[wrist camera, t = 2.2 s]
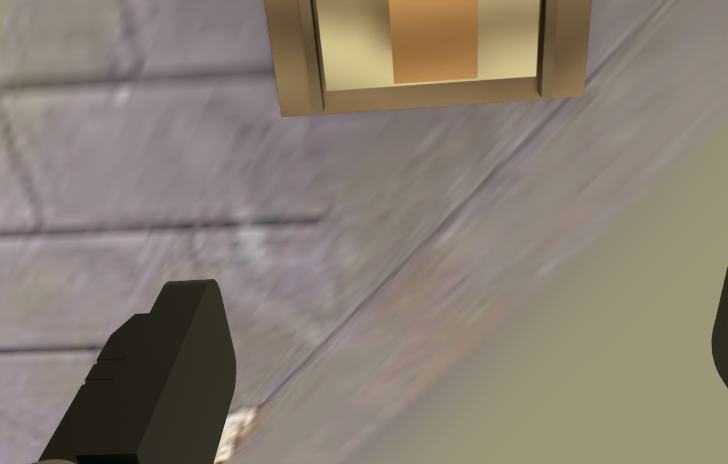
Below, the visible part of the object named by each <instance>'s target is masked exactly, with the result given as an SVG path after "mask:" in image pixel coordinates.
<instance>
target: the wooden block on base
mask: <svg viewBox="0 0 728 464" xmlns="http://www.w3.org/2000/svg"><path fill="white" fill-rule="evenodd" d="M316 4H317V12H318V21H319V30H320V39H321V47H322V56H323V65H324V74H325V82H326V91H335V90H349V89H363V88H378V87H392V86H406V85H420V84H434V83H448V82H463V81H477V80H491V79H505V78H519V77H533V76H536V67H537V46H538V26H539V5H540V0H316Z"/></svg>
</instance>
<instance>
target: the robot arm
mask: <svg viewBox="0 0 728 464" xmlns="http://www.w3.org/2000/svg"><path fill="white" fill-rule="evenodd" d="M712 354H713V359H714V363H715V366H716V369H717V371H718V373H719V375H720V377H721V378H722V380H723V382H724V383H725V385H726V386H727V388H728V268H727V272H726V276H725V280H724V285H723V289H722V293H721V298H720V302H719V306H718V311H717V315H716V320H715V324H714V328H713V334H712ZM235 383H236V359H235V352H234V348H233V343H232V339H231V335H230V330H229V326H228V322H227V318H226V313H225V309H224V305H223V300H222V296H221V292H220V288H219V286H218V284H217V282H216V281H215V280H214V279H207V280H187V281H169V282H167V283H166V284H165V285H164V286H163V288H162V290H161V292H160V294H159V296H158V298H157V300H156V302H155V303H154V305H153V307H152V309H151V311H150V313H144V314H135V315H133V316H132V317H131V318H130V319H129V320H128V321H127V322H125V323H124V324H123V325H122V326H121V327H120V328H118V329H117V330H116V331H115V332H114V333H113V334H112V335H111V336H110V337H109V339H108V341H107V342H106V344H105V346H104V348H103V349H102V351H101V353H100V355H99V356H98V358H97V364H94V365H93V367H92V368H91V370H90V372H89V374H88V375H87V377H86V379H85V385H82V386H81V387H80V389H79V391H78V393H77V394H76V396H75V398H74V400H73V401H72V403H71V405H70V407H69V408H68V410H67V412H66V413H65V415H64V417H63V419H62V420H61V422H60V424H59V426H58V427H57V429H56V431H55V433H54V434H53V436H52V438H51V439H50V441H49V443H48V445H47V446H46V448H45V450H44V452H43V453H42V455H41V457H40V458H39V460H38V462H35V463H31V464H213V463H214V460H215V456H216V453H217V449H218V446H219V442H220V439H221V435H222V432H223V428H224V425H225V421H226V418H227V414H228V411H229V407H230V404H231V400H232V397H233V393H234V389H235Z"/></svg>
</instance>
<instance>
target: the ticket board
mask: <svg viewBox="0 0 728 464" xmlns="http://www.w3.org/2000/svg"><path fill="white" fill-rule="evenodd" d="M264 2H265V9H266V16H267V22H268V29H269V35H270V42H271V49H272V55H273V62H274V68H275V75H276V81H277V88H278V95H279V101H280V108H281V114H282V117H289V116H304V115H319V114H333V113H348V112H363V111H377V110H392V109H407V108H422V107H436V106H451V105H466V104H480V103H495V102H510V101H524V100H539V99H554V98H568V97H583V94H584V83H585V71H586V59H587V48H588V36H589V25H590V13H591V2H592V0H540V5H539V26H538V46H537V67H536V76H533V77H519V78H505V79H491V80H477V81H463V82H448V83H434V84H420V85H406V86H392V87H378V88H363V89H349V90H335V91H326V82H325V74H324V65H323V56H322V47H321V39H320V30H319V21H318V12H317V4H316V0H264Z"/></svg>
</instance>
